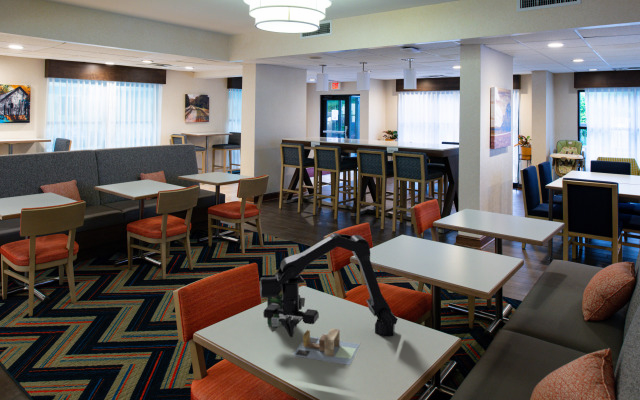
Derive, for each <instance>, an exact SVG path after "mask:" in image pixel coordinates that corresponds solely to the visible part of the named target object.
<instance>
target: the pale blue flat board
mask: <svg viewBox="0 0 640 400" xmlns="http://www.w3.org/2000/svg"><path fill="white" fill-rule="evenodd" d="M320 338H321V337H315V336H310V343H317V344H319V339H320ZM360 344H361V343H356V342H348V341H341V340H340V346H339V347H336V346H334V356H333V357H331V356H325V352H324V351H319V349H315V348H309V347H304V346H303V340H302V341H301V342H300V344H299V345H298V347H297V348H296V349H295V351H294V352H293V353H292V356H294V357H300V358H306V359H310V360H311V359H312V360H318V361H324V362H329V363H336V364H341V365H347V366H350V365H351V363H352V361H353V359H354V358H355V355H356V353H357V352H358V349H359V347H360Z"/></svg>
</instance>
